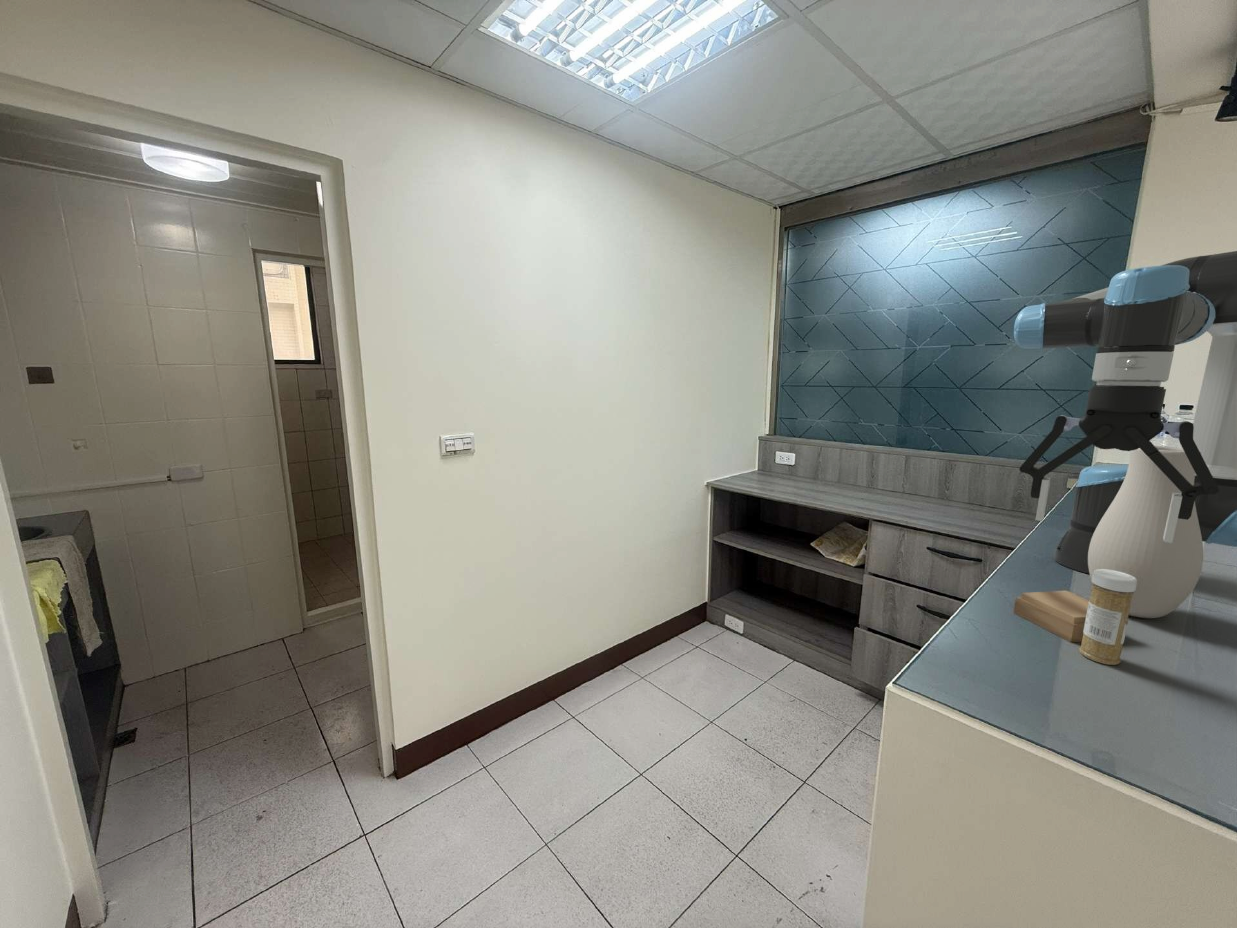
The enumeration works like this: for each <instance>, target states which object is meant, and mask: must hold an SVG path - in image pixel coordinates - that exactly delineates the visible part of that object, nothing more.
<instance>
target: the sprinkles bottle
mask: <svg viewBox="0 0 1237 928" xmlns="http://www.w3.org/2000/svg"><path fill="white" fill-rule="evenodd" d="M1091 585H1092V587H1091V590H1090V591H1091V592H1090V597H1089V599H1088V600H1089V604H1088V609H1087V614H1086V619H1085V625H1084V630H1083V639H1082V642H1081V646H1080V647H1079V649H1078V650H1079V653H1080V654H1081V655H1082V656H1083V657H1086V658H1088V659H1089V660H1091V661H1093V662H1097V663H1100V664H1104V665H1110V666H1111V665H1112V666H1115V665H1118V664H1120V663H1121V662H1122V661H1121V660H1122V659H1121V656H1122V650H1123V645H1124V642H1125V638H1126V633H1127V628H1128V624H1127V621H1128V619H1129V616H1130V615H1129V610H1130V606H1131V600H1132V595H1133V593H1134V591H1135V590H1136V585H1137V579H1136V578H1135V577H1133V576H1131V575H1129V574H1126V573H1123V572H1119V571H1114V570H1107V569H1097V570H1095V571H1094V572H1093V577H1092V580H1091Z"/></svg>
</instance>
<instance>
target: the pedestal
mask: <svg viewBox="0 0 1237 928" xmlns="http://www.w3.org/2000/svg"><path fill="white" fill-rule="evenodd" d="M1014 600H1015V602H1014V607H1013V614H1015V615H1016V616H1019V617H1021V618H1023V619H1025V620H1026V621H1028V622H1031V623H1032V624H1034V625H1037V626H1038V627H1040V628H1042V629H1044V630H1046V631H1048V632H1050V633H1052V634H1053V635H1055V636H1058V637H1060V638H1061V639H1063V640H1065V641H1067V642H1069V643H1082V639H1083V630H1084V625H1085V619H1086V614H1087V609H1088V604H1089V600H1090V599H1087V598H1085V597H1082V596H1080V595H1077V594H1075V593H1073V592H1070V591H1069V590H1052V591H1048V590H1047V591H1036V592H1035V591H1033V592H1032V591H1031V592H1021V596H1016V597H1015V599H1014ZM1128 623H1129V622H1128V621H1127V625H1128Z"/></svg>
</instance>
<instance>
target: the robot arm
mask: <svg viewBox="0 0 1237 928" xmlns="http://www.w3.org/2000/svg"><path fill="white" fill-rule="evenodd" d="M1206 332H1207V333H1208V334H1209V335H1210V336H1211V337H1212V338H1211V342H1210V347H1209V351H1208V356H1207V360H1206V363H1205V364H1206V365H1205V370H1204V373H1203V378H1202V383H1201V387H1200V391H1199V396H1198V400H1197V405H1196V409H1195V413H1194V418H1193V422H1190V421H1189V420H1184V421H1181V422H1165V423H1164V422H1162V418H1161V416H1162V411H1163V407H1164V402H1165V397H1166V391H1167V388H1165V386H1161V384H1162V383H1166V382H1168V381H1169V377H1170V373H1171V367H1172V363H1173V358H1174V353H1175V346H1177V345H1182V344H1187V343H1189V342H1191V341H1194V340H1197V339H1198V338H1200V337H1201V336H1203V335H1204V334H1205V333H1206ZM1013 337H1014V342H1015V343H1016V345H1017V346H1018V347H1019V348H1021V349H1038V350H1044V349H1058V348H1080V347H1097V349H1096V353H1095V359H1094V365H1093V369H1092V376H1091V380H1092V381H1093V382H1096V383H1095V385H1092V386H1091V387H1089V392H1088V398H1087V403H1086V408H1085V413H1084V415H1083V416H1082V417H1081V418H1078V417H1077V418H1076V417H1069V416H1067V415H1064V414H1062V415H1059V416H1057V417H1056V418H1055V421H1054V424H1053V427H1052V430H1051V431H1050V432H1049V433H1048V434H1047V436H1045V438H1044V439H1043V440H1042V441H1041V442H1040V443H1039V445H1038V446H1037V447H1036V448H1035V449H1034V450H1033V451H1032V452H1031V454H1030V455H1029V456H1028V457H1027V458H1026V460H1025V461H1024V462H1023V463H1022V464H1021V465H1020V467H1019V471H1020V472H1021V473H1024V474H1027V475H1029V476H1031V478H1032V483H1031V489H1030V497H1031V498H1033V499H1038V503H1037V507H1036V516H1035V521H1039V522H1042V521H1043V520H1044V519H1045V514H1046V513H1045V512H1046V507H1047V502H1048V495H1049V489H1050V483H1051V477H1046V476H1047V475H1049V473H1051V472H1053V471H1054V470H1056V469H1058V468H1059V467H1060V466H1062V465H1063V464H1065V463H1066V462H1067V461H1069V460H1071V459H1072V458H1074V457H1076V456H1077V455H1078V454H1080V453H1081V452H1083V451H1084V450H1086V449H1087V448H1089V447H1090V446H1091V445H1092V446H1093V447H1095V448H1098V449H1100V450H1118V451H1122V452H1123V451H1125V452H1130V451H1132V450H1136V449H1138V448H1140V449H1141V450H1142V451H1143V452H1144V453H1145V454H1146V455H1147V456H1148V457H1149V458H1150V459H1151V460H1152V461H1153V462H1154V463H1155V464H1156V465H1157V467H1158V468H1159V469H1160V470H1161V471H1162V472H1163V473H1164V474H1165V475H1166V476H1167V477H1168V478H1169V479H1170V480H1171V481H1172V482H1173V483H1174V485H1175V486H1176V487H1177V488H1178V489H1179V490H1180V491H1181V493H1173V495H1172V499H1171V504H1170V508H1169V513H1168V518H1167V522H1166V527H1165V531H1164V536H1163V539H1164V542H1169V543H1172V541H1173V537H1174V532H1175V528H1176V524H1177V519H1178V518H1179V519H1186V520H1188V519H1189V518H1190V517H1191V514H1192V510H1193V505H1194V501H1195V506H1196V512H1197V517H1198V522H1199V526H1200V531H1201V537H1202V542H1204V543H1206V544H1208V545H1211V544H1214V545H1215V544H1216V545H1220V546H1227V547H1233V548H1235V547H1236V548H1237V250H1235V251H1234V250H1233V251H1228V252H1222V253H1215V254H1214V253H1213V254H1207V255H1199V256H1197V255H1196V256H1193V257H1192V256H1191V257H1187V258H1183V259H1179V260H1175V261H1171V262H1167V263H1164V264H1161V265H1151V266H1145V267H1137V268H1132V269H1127V270H1123V271H1120V272H1118V273H1116V274H1115V275H1114V276H1112V278H1111V280H1110V282H1109V286H1108V287H1105V288H1102V289H1100V290H1099V289H1098V290H1096V291H1092V292H1089V293H1086V294H1082V295H1079V296H1077V297H1076V296H1075V297H1074V298H1069V299H1066V300H1063V301H1059V302H1052V303H1046V302H1043V303H1040V304H1035V305H1028V306H1026V307H1023V308H1022V309H1021V310H1020V312H1019V313H1018V314H1017V317H1016V318H1015V322H1014V326H1013ZM1075 426H1079V429H1080V430H1081V432H1082V433H1083V434H1084V435H1085V437H1084V438H1082V439H1080V440H1079V441H1078V442H1076V443H1074V444H1073V445H1071V446H1070V447H1069V448H1067V449H1066V450H1065V451H1063V452H1061V453H1060V454H1058V455H1057V456H1056V457H1054V458H1052V459H1051V460H1050V461H1048V462H1046V464H1044V465H1042V466H1041V467H1039V468H1038V467H1036V466H1035V465H1036V464H1037V463H1038V462H1039V460H1040V459H1041V458H1042V457H1043V456H1044V455H1045V454H1046V452H1048V451H1049V450H1050V448H1051V447H1052V446H1053V445H1054V443H1056V442H1057V440H1058V439H1059V438H1060V437H1061V436H1062V434H1063V433H1064V432H1068V431H1071V430H1072V429H1073V428H1074V427H1075ZM1162 432H1168V434H1169V436H1170V437H1171V438H1172V439H1173V438H1174V439H1178V442H1179V444H1180V446H1181V448H1183V450H1184V452H1185V454H1186V456H1187V458H1188V460H1189V462H1190V464H1191V466H1192V468H1193V470H1194V471H1195V478H1194V485H1191V484H1190V483H1189V482H1188V480H1187V479H1186V478H1185V477H1184V476H1183V475H1182V474H1181V473H1180V472H1179V471H1178V470H1177V469H1176V468H1175V467H1174V466H1173V465H1172V464H1171V463H1170V462H1169V461H1168V460H1167V459H1166V458H1165V456H1164V455H1163V454H1162V453H1161V452H1160V451H1159V450H1158V449H1157V448H1156V447H1155V446H1156V445H1154V444H1153V442H1151V440H1152V439H1154V438H1155V437H1157V436H1158V435H1159V434H1161V433H1162ZM1200 452H1201V453H1200ZM1128 466H1129V464H1104V465H1103V464H1102V465H1091V466H1090V465H1089V466H1086V467H1084V468H1082V470H1081V471H1080V472H1079V475H1078V480H1077V484H1075V493H1074V500H1073V503H1072V505H1073V506H1072V512H1071V517H1070V522H1069V528H1068V529H1067V531H1065V534H1064V535H1063V537H1062V538H1061V540H1060V542H1059V543H1058V545H1057V546H1056V547H1055V549H1054V552H1053V553H1054V555H1053V560H1054V561H1055V562H1057V563H1058V564H1060V565H1062V566H1064V567H1067V568H1068V569H1072V570H1075V571H1077V572H1081V573H1085V574H1088V575H1090V573H1089V567H1088V551H1089V546H1090V542H1091V539H1092V536H1093V534H1094V532H1095V530H1096V528H1097V526H1098V524H1099V522H1100V521H1101V519H1102V517H1103V516H1104V514H1105V513H1106V511H1107V509H1108V508H1109V506H1110V505H1111V503H1112V502H1113V500H1114V498H1115V497H1116V495H1117V493H1118V491H1119V490H1120V488H1121V486H1122V484H1123V481H1124V479H1125V476H1126V473H1127V470H1128Z"/></svg>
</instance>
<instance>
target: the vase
mask: <svg viewBox="0 0 1237 928" xmlns="http://www.w3.org/2000/svg"><path fill="white" fill-rule="evenodd" d="M1154 446H1155V447H1156V448H1157V449H1158V450H1159V451H1160V452H1161V453H1162V454H1163V455H1164V456H1165V458H1166V459H1167V460H1168V461H1169V462H1170V463H1171V464H1172V465H1173V466H1174V467H1175V468H1176V469H1177V470H1178V471H1179V472H1180V473H1181V474H1182V475H1183V476H1184V477H1185V478H1186V479H1187V480H1188V482H1189V483H1190V484H1191V485H1194V478H1195V471H1194V470H1193V468H1192V466H1191V464H1190V462H1189V460H1188V458H1187V456H1186V454H1185V452H1184V450H1183V448H1182V447H1177V446H1176V447H1175V446H1164V445H1163V446H1162V445H1154ZM1129 452H1130V454H1129V462H1128V465H1129V466H1128V470H1127V473H1126V476H1125V479H1124V481H1123V484H1122V486H1121V488H1120V490H1119V491H1118V493H1117V495H1116V497H1115V498H1114V500H1113V502H1112V503H1111V505H1110V506H1109V508H1108V509H1107V511H1106V513H1105V514H1104V516H1103V517H1102V519H1101V521H1100V522H1099V524H1098V526H1097V528H1096V530H1095V532H1094V534H1093V536H1092V539H1091V542H1090V546H1089V551H1088V567H1089V573H1090V574H1089V577H1090V580H1091V581H1092V577H1093V572H1094V571H1095V570H1097V569H1107V570H1114V571H1119V572H1123V573H1126V574H1129V575H1131V576H1133V577H1135V578H1136V579H1137V585H1136V590H1135V591H1134V593H1133V595H1132V600H1131V606H1130V610H1129V615H1128V616H1130V617H1135V618H1142V619H1157V618H1161V617H1165V616H1167V615H1168V614H1170V613H1172V612H1173V611H1175V610H1176V609H1177V608H1179V606H1180V605H1181V604H1183V603H1184V602H1185V601H1186V600H1187V598H1188V597H1189V596H1190V595H1191V594H1192V592H1193V590H1195V588H1196V586H1197V583H1198V581H1199V580H1200V577H1201V574H1202V570H1203V564H1204V563H1203V562H1204V545H1203V541H1202V537H1201V531H1200V526H1199V522H1198V517H1197V512H1196V506H1195V501H1194V505H1193V510H1192V514H1191V517H1190V518H1189V519H1188V520H1186V519H1179V518H1178V519H1177V524H1176V528H1175V532H1174V537H1173V541H1172V543H1169V542H1164V539H1163V536H1164V531H1165V527H1166V522H1167V518H1168V513H1169V508H1170V504H1171V499H1172V495H1173V493H1181V491H1180V490H1179V489H1178V488H1177V487H1176V486H1175V485H1174V483H1173V482H1172V481H1171V480H1170V479H1169V478H1168V477H1167V476H1166V475H1165V474H1164V473H1163V472H1162V471H1161V470H1160V469H1159V468H1158V467H1157V465H1156V464H1155V463H1154V462H1153V461H1152V460H1151V459H1150V458H1149V457H1148V456H1147V455H1146V454H1145V453H1144V452H1143V451H1142V450H1141V449H1140V448H1138V449H1136V450H1132V451H1129ZM1200 453H1201V452H1200Z"/></svg>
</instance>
